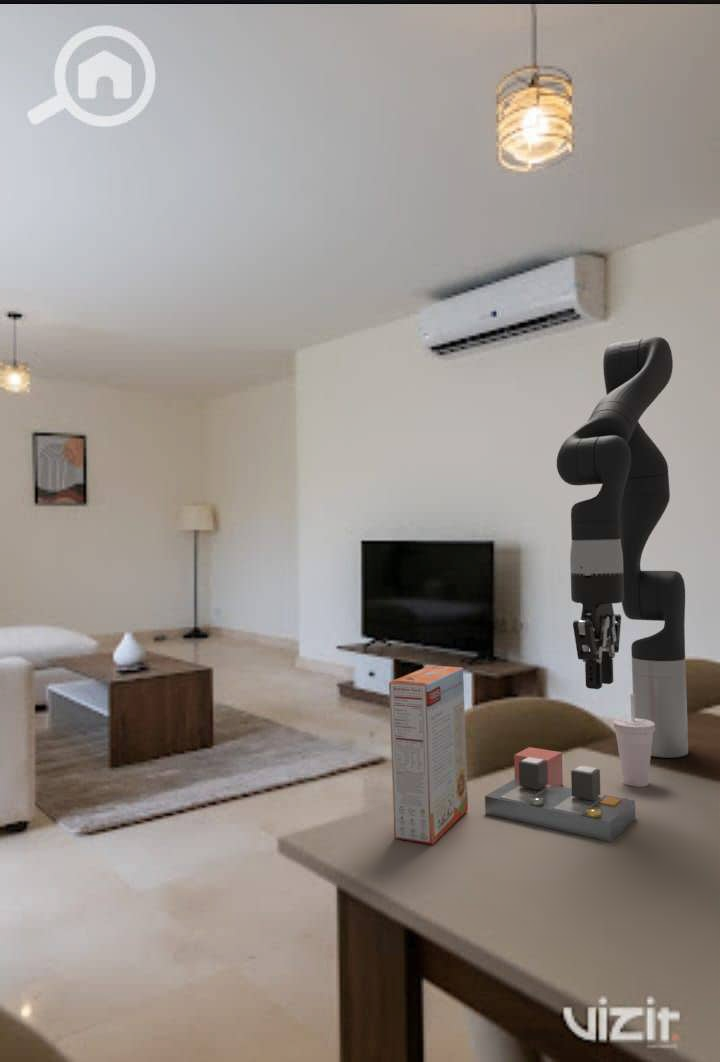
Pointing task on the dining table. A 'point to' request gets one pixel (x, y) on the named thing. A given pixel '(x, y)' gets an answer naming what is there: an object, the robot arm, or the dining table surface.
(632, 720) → the smoothie
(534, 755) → the salmon pink cube
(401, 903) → the dining table surface
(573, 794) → the toggle
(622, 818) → the panel
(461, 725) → the cracker box
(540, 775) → the toggle
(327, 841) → the dining table surface
